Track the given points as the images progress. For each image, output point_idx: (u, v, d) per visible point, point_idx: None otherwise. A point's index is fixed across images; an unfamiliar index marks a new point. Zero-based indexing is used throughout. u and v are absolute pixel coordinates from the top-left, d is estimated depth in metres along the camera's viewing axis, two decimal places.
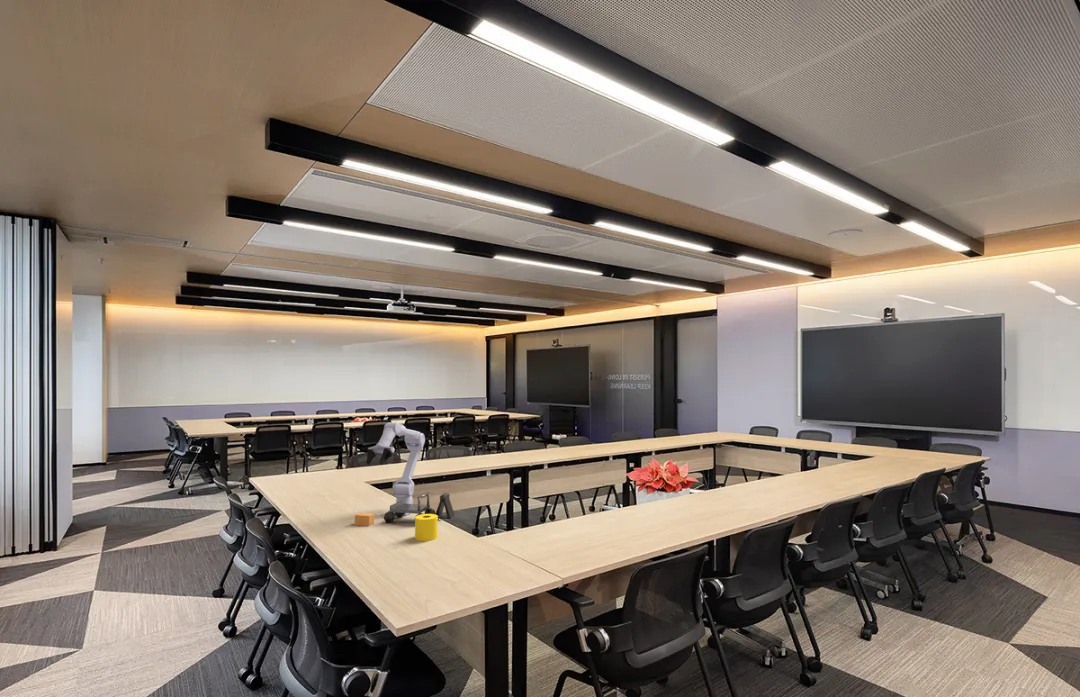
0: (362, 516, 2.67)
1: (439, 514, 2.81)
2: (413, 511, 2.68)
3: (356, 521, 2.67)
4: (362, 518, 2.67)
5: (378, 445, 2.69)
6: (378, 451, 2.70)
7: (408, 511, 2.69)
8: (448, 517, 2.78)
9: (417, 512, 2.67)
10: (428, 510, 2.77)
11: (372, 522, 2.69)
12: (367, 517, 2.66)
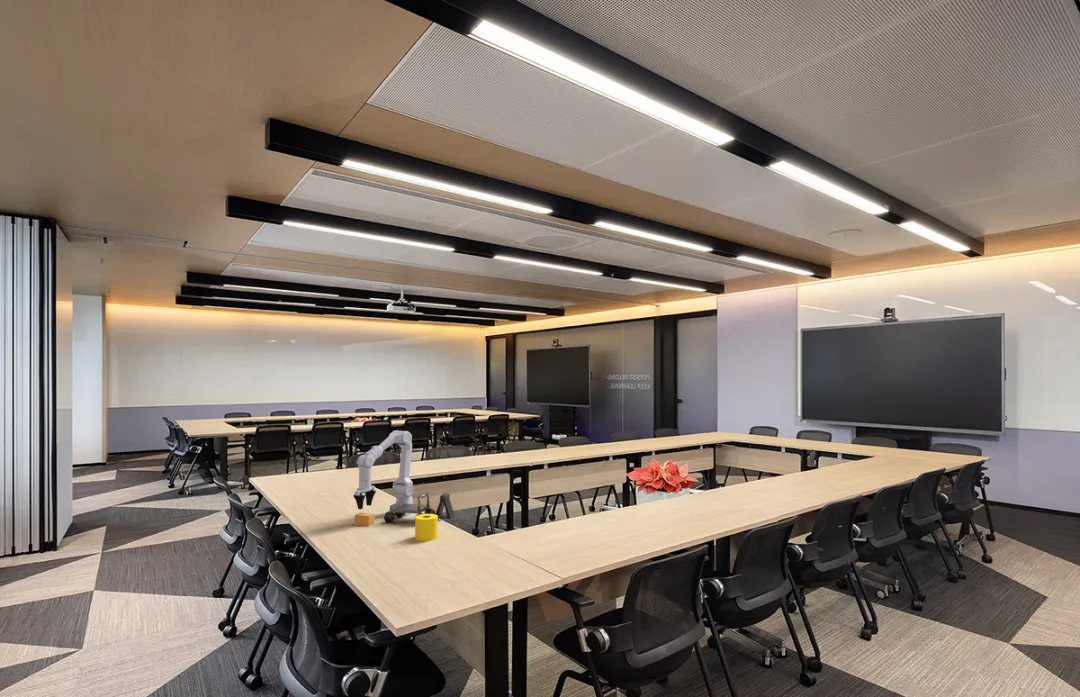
0: (362, 516, 2.67)
1: (439, 514, 2.81)
2: (413, 511, 2.68)
3: (356, 521, 2.68)
4: (362, 518, 2.67)
5: None
6: (365, 491, 2.70)
7: (408, 511, 2.69)
8: (448, 517, 2.78)
9: (417, 512, 2.67)
10: (428, 510, 2.77)
11: (372, 523, 2.69)
12: (367, 517, 2.66)
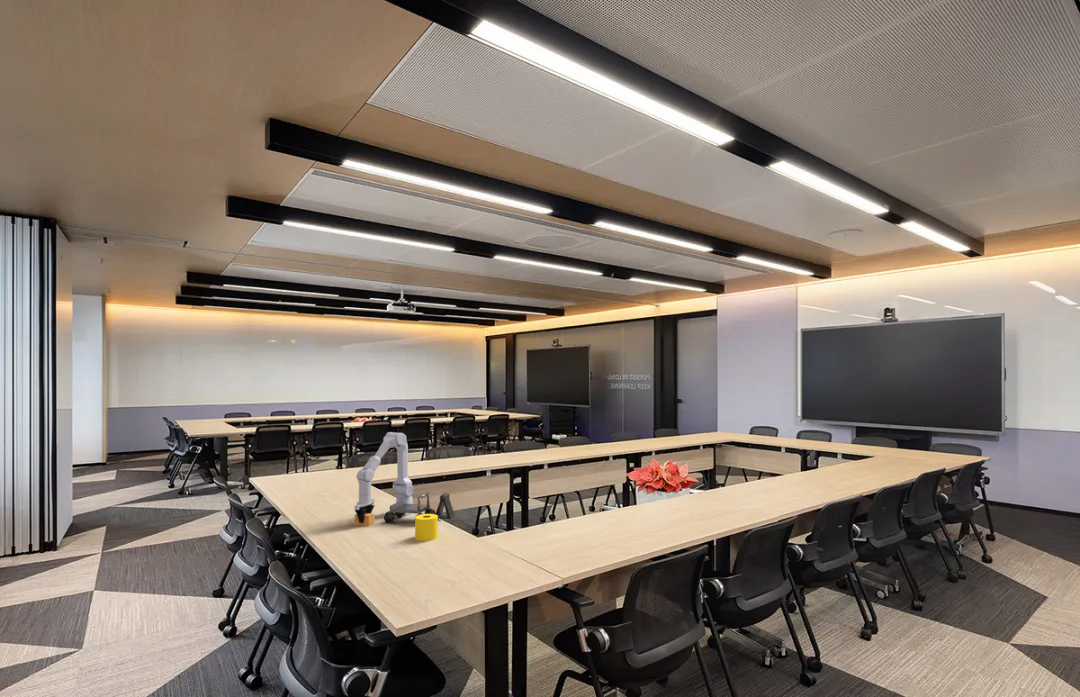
0: None
1: (439, 514, 2.81)
2: (413, 511, 2.68)
3: (356, 521, 2.68)
4: None
5: None
6: (365, 505, 2.70)
7: (408, 511, 2.69)
8: (448, 517, 2.78)
9: (417, 512, 2.67)
10: (428, 510, 2.77)
11: (372, 522, 2.69)
12: (367, 517, 2.66)
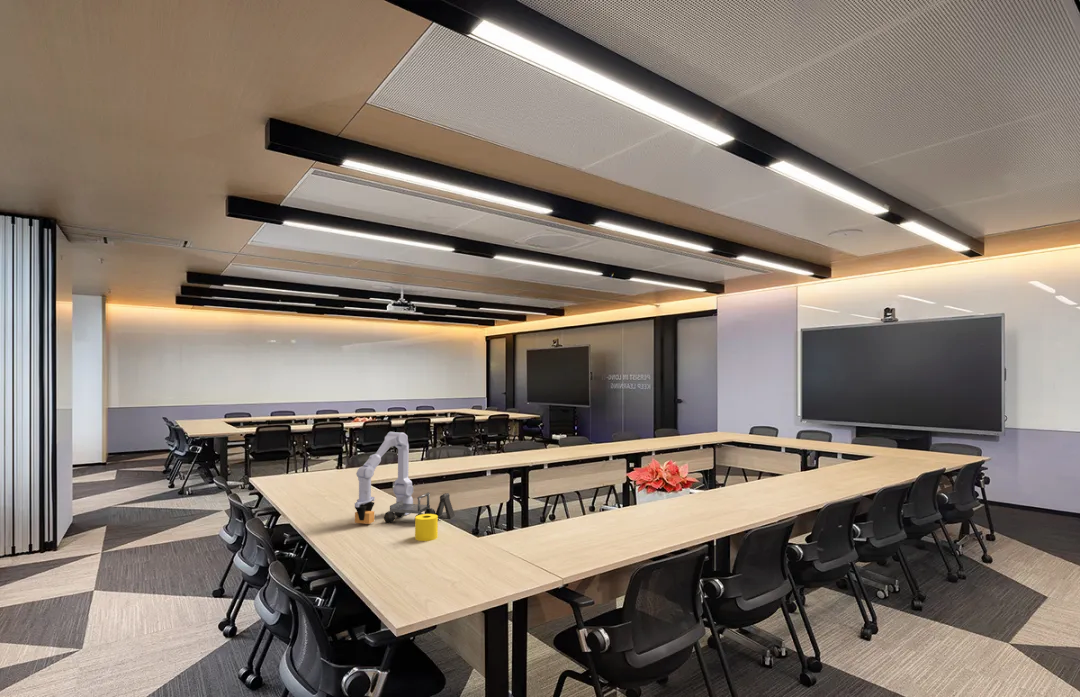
0: None
1: (439, 514, 2.81)
2: (413, 511, 2.68)
3: (356, 519, 2.67)
4: None
5: None
6: (365, 503, 2.70)
7: (408, 511, 2.69)
8: (448, 517, 2.78)
9: (417, 512, 2.67)
10: (428, 510, 2.77)
11: (373, 520, 2.69)
12: (367, 514, 2.66)
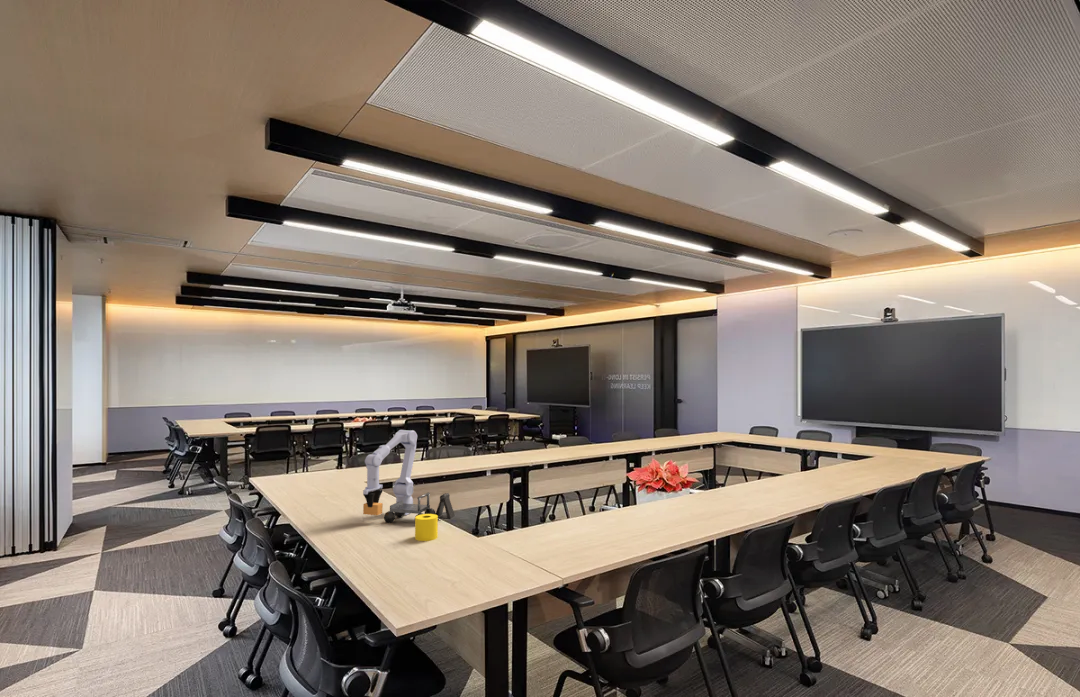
0: None
1: (439, 514, 2.81)
2: (413, 511, 2.68)
3: (365, 510, 2.71)
4: (371, 507, 2.70)
5: None
6: (373, 490, 2.74)
7: (408, 511, 2.69)
8: (448, 517, 2.78)
9: (417, 512, 2.67)
10: (428, 510, 2.77)
11: (381, 512, 2.72)
12: (376, 506, 2.69)
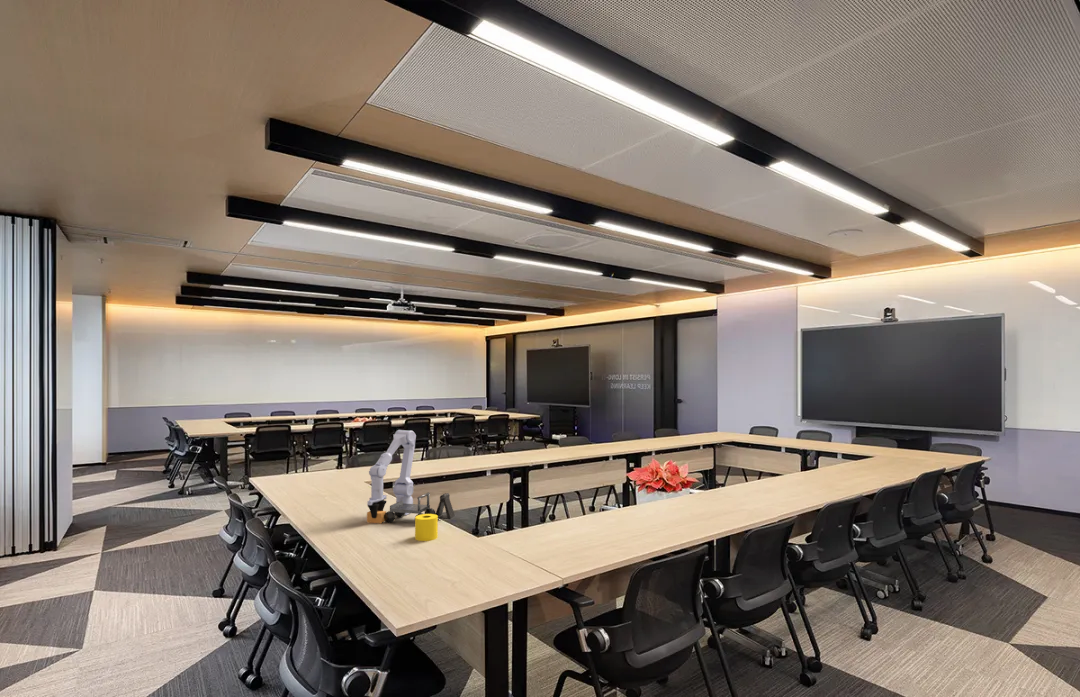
0: None
1: (439, 514, 2.81)
2: (413, 511, 2.68)
3: (368, 518, 2.72)
4: None
5: None
6: (377, 501, 2.75)
7: (408, 511, 2.69)
8: (448, 517, 2.78)
9: (417, 512, 2.67)
10: (428, 510, 2.77)
11: (384, 520, 2.74)
12: (379, 514, 2.71)
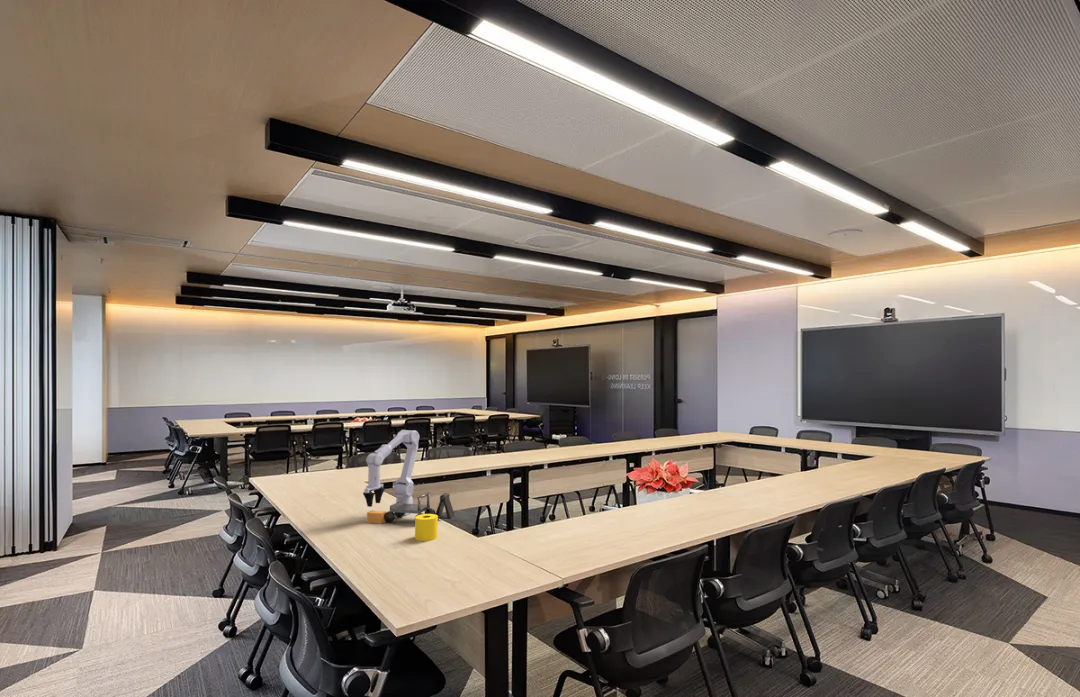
0: (374, 513, 2.72)
1: (439, 514, 2.81)
2: (413, 511, 2.68)
3: (368, 518, 2.72)
4: (374, 515, 2.71)
5: None
6: (374, 489, 2.75)
7: (408, 511, 2.69)
8: (448, 517, 2.78)
9: (417, 512, 2.67)
10: (428, 510, 2.77)
11: (384, 520, 2.74)
12: (379, 514, 2.71)
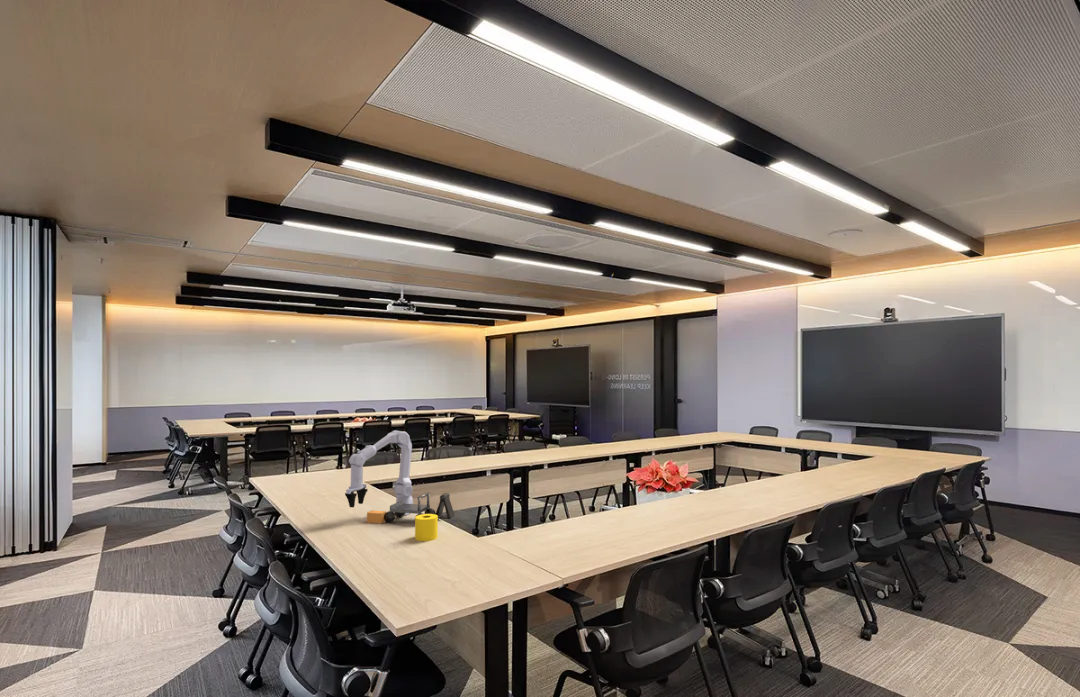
0: (374, 513, 2.72)
1: (439, 514, 2.81)
2: (413, 511, 2.68)
3: (368, 518, 2.72)
4: (375, 515, 2.71)
5: None
6: (357, 490, 2.74)
7: (408, 511, 2.69)
8: (448, 517, 2.78)
9: (417, 512, 2.67)
10: (428, 510, 2.77)
11: (384, 520, 2.74)
12: (379, 514, 2.71)
